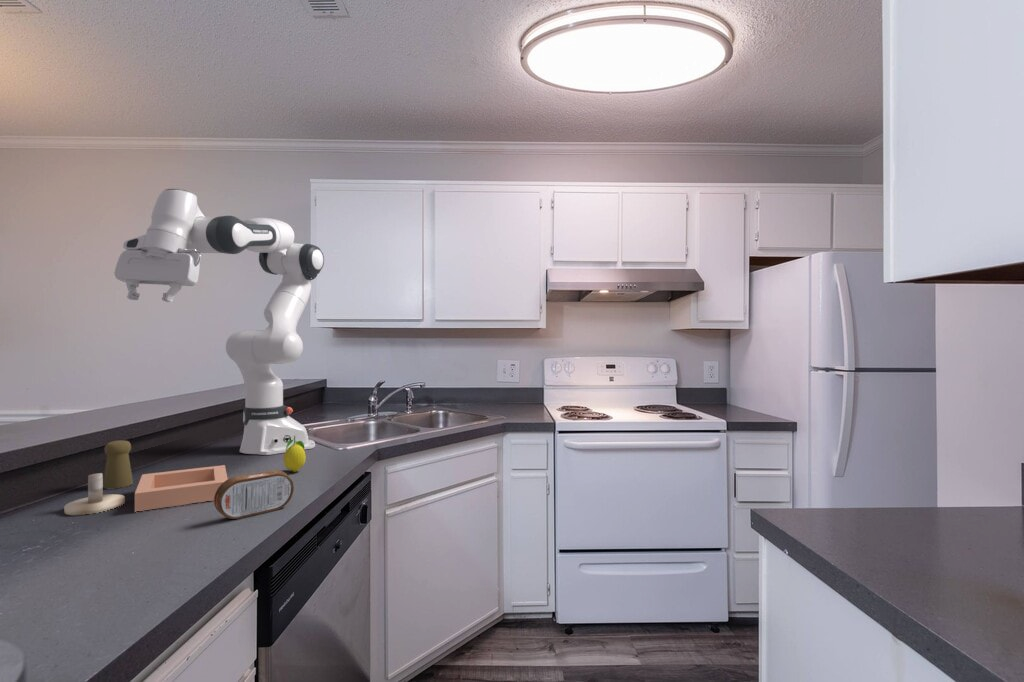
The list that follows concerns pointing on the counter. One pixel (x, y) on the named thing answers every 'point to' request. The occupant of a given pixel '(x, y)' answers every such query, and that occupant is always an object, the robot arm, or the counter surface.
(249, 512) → the tin
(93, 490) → the mushroom
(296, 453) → the lemon
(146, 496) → the pink square frame
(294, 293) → the robot arm
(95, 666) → the counter surface
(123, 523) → the counter surface
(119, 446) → the cork
